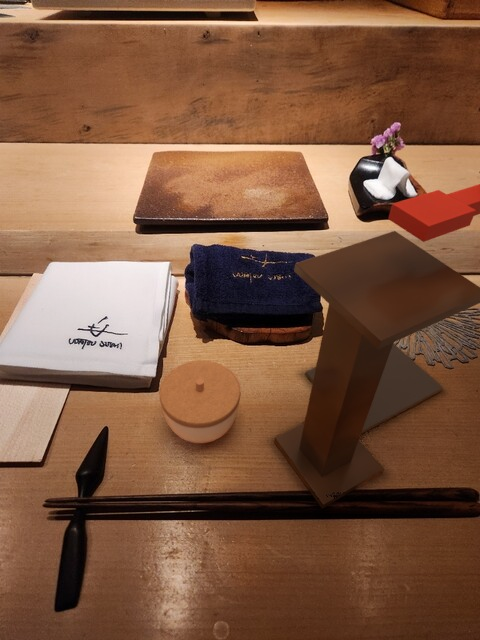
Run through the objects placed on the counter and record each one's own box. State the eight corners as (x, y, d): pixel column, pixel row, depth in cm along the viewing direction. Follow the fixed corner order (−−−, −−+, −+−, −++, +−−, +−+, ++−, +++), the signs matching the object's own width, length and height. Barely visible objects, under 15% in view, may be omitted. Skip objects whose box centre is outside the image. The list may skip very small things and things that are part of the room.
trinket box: (149, 420, 66) (141, 378, 60) (207, 382, 72) (205, 340, 65) (195, 472, 60) (192, 431, 54) (254, 426, 66) (258, 384, 59)
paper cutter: (442, 391, 72) (443, 387, 71) (358, 436, 65) (359, 432, 65) (384, 339, 80) (385, 335, 79) (304, 374, 73) (305, 371, 73)
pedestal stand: (401, 466, 62) (488, 292, 42) (324, 512, 57) (381, 340, 37) (344, 403, 69) (394, 230, 49) (272, 439, 64) (295, 263, 44)
